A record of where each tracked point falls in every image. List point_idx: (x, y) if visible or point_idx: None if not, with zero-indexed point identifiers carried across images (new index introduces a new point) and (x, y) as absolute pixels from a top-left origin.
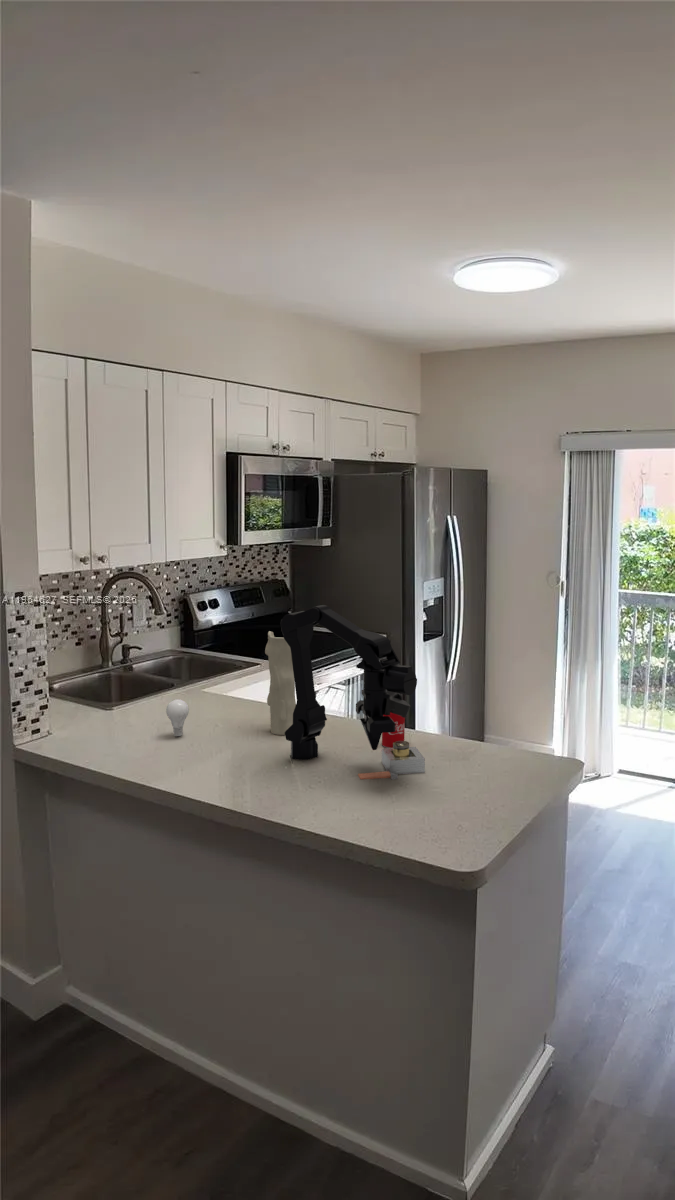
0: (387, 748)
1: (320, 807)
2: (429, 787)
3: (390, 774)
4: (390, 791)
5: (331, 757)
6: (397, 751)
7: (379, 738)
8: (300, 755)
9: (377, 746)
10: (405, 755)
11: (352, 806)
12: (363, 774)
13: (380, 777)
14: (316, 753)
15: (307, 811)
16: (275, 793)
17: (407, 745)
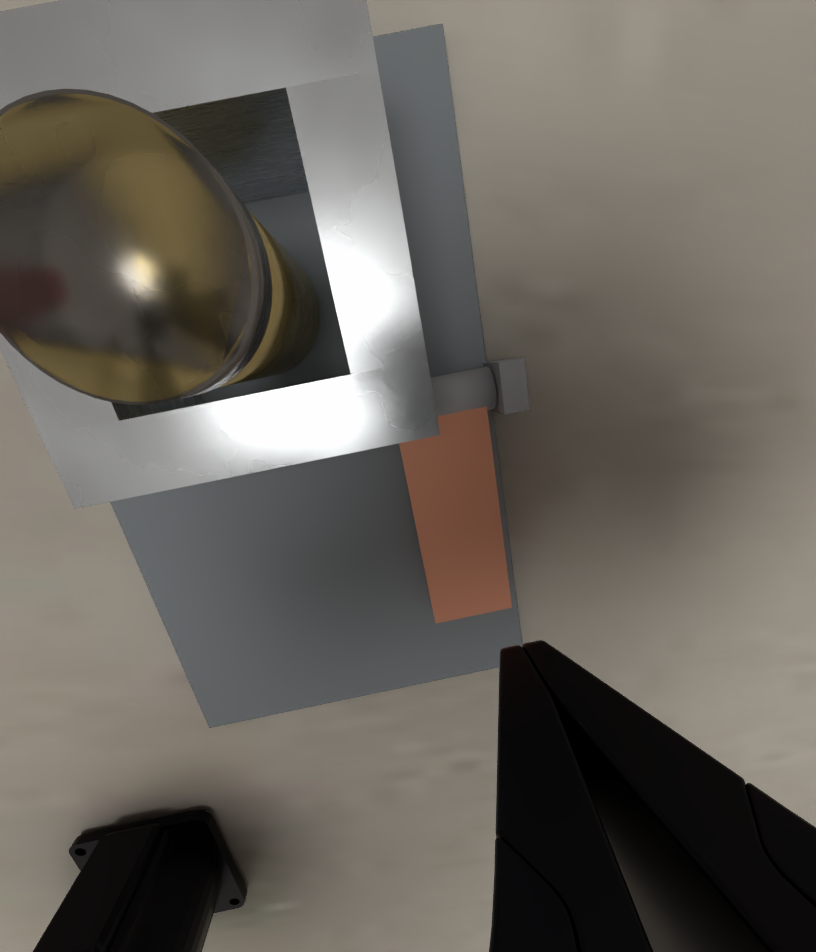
0: (51, 449)
1: (767, 733)
2: (588, 98)
3: (465, 412)
4: (628, 412)
5: (77, 752)
6: (268, 341)
7: (744, 788)
8: (205, 930)
9: (576, 666)
10: (273, 240)
11: (791, 610)
12: (450, 591)
13: (494, 483)
14: (143, 869)
15: (794, 772)
16: None
17: (192, 144)
